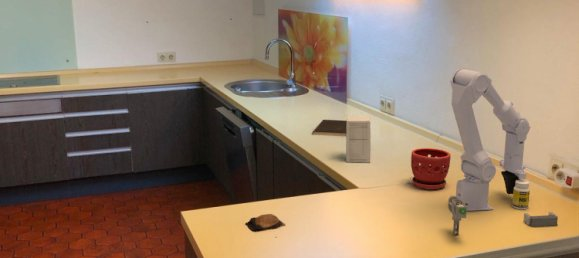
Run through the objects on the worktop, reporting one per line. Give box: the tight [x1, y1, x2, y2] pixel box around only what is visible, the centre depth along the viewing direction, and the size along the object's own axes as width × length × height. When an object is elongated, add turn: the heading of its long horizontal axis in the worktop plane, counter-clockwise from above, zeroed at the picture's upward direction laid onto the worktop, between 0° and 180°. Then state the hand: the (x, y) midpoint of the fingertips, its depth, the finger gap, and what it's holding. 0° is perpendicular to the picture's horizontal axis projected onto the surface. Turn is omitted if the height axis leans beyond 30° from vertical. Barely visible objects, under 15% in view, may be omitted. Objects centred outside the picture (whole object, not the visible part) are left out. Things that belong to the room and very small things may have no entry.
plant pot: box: [410, 147, 451, 190], centre depth 214 cm, size 13×13×12 cm
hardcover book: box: [311, 119, 347, 137], centre depth 292 cm, size 16×23×2 cm
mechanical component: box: [447, 195, 468, 236], centre depth 175 cm, size 3×10×10 cm, turn 2°
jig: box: [523, 211, 559, 228], centre depth 183 cm, size 9×4×2 cm, turn 96°
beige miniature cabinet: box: [345, 115, 372, 164], centre depth 244 cm, size 10×9×17 cm
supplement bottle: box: [511, 179, 531, 210], centre depth 194 cm, size 5×5×8 cm
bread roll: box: [244, 213, 286, 233], centre depth 184 cm, size 11×8×4 cm
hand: (510, 193), depth 202 cm, fingers closed
